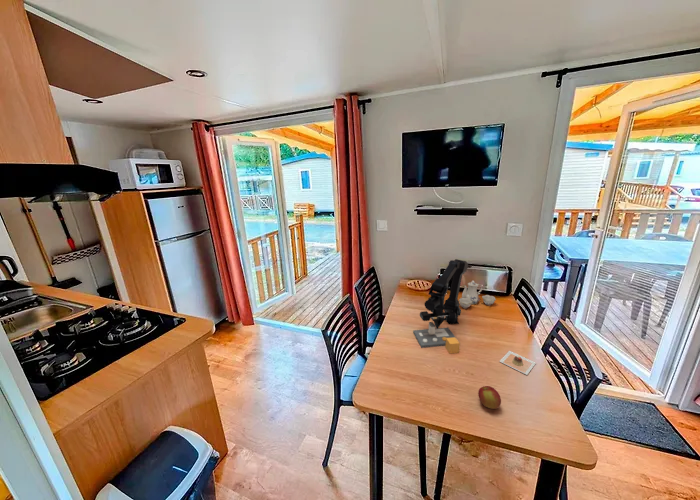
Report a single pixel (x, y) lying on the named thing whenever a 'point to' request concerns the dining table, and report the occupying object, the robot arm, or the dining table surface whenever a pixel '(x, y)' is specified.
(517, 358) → the dessert
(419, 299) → the dining table surface
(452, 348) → the mustard yellow cube
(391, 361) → the dining table surface
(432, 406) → the dining table surface
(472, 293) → the chinaware
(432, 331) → the lever
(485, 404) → the apple
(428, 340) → the breaker panel
